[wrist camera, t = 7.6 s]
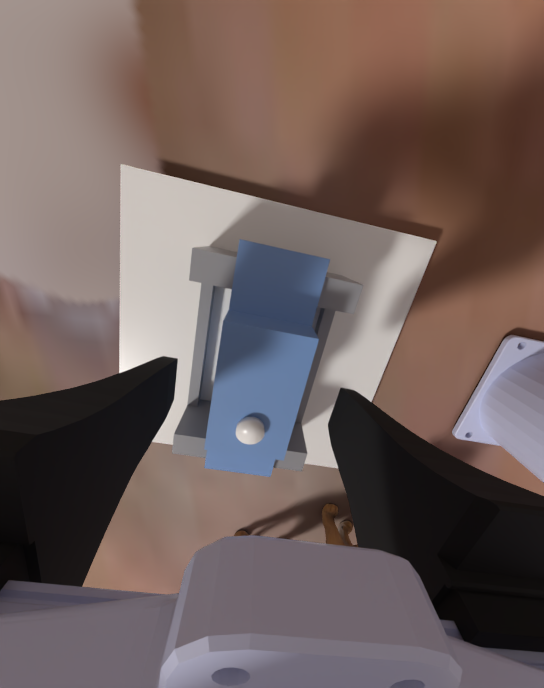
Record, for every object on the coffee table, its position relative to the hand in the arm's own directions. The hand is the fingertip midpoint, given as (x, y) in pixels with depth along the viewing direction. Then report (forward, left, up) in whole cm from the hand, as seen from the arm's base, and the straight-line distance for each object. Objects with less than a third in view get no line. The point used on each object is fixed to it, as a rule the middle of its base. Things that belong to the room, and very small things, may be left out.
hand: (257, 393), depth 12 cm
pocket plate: (0, 0, -5) cm, 5 cm away
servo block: (0, 0, -4) cm, 4 cm away
